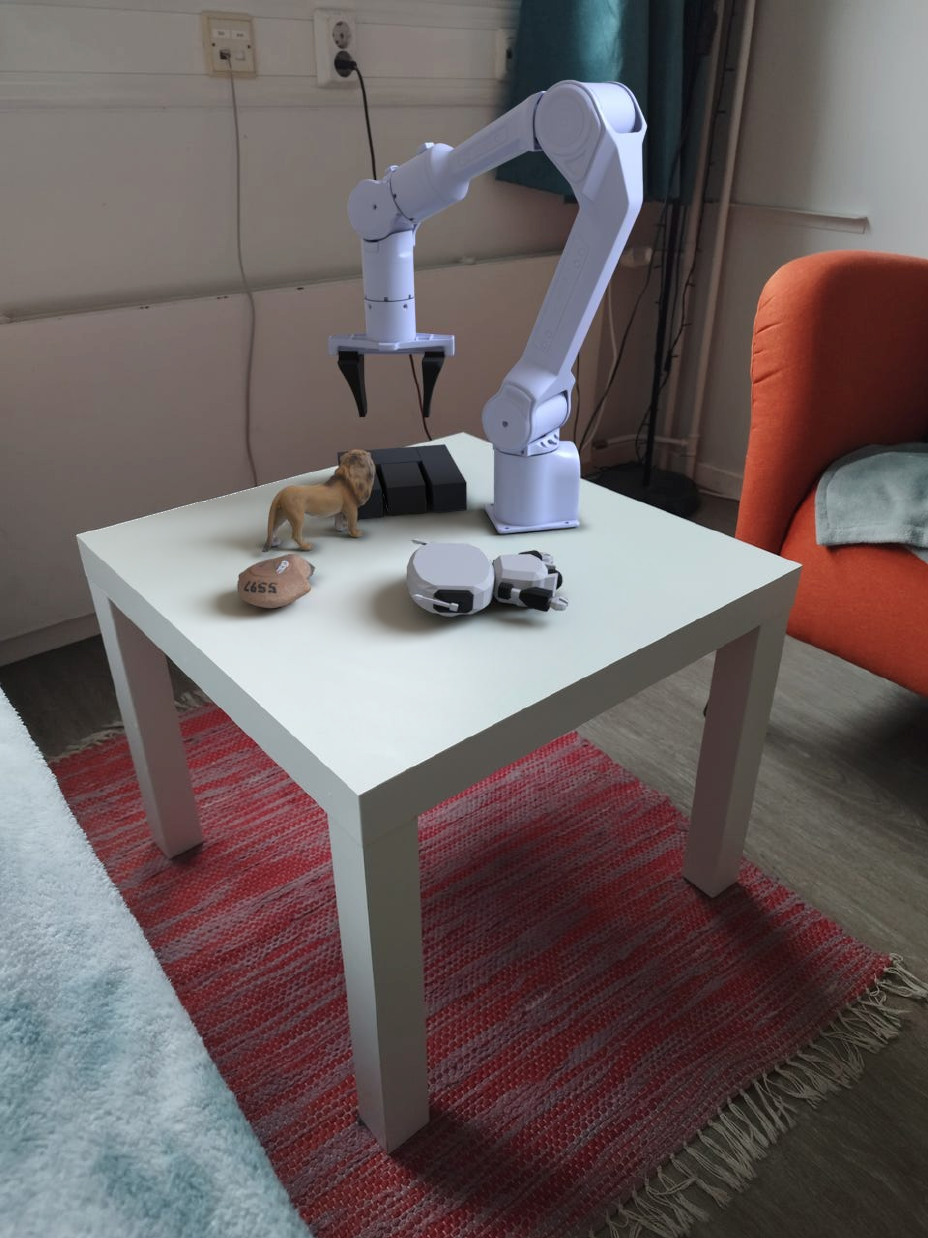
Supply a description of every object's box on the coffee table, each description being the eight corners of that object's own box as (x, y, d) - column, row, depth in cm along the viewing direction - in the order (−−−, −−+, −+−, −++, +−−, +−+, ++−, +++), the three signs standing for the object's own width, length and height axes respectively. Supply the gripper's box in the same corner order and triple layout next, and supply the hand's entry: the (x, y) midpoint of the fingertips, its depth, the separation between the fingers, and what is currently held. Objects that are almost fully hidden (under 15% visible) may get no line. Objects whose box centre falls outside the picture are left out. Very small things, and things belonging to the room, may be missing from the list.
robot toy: (550, 577, 94) (405, 572, 92) (555, 537, 91) (406, 532, 90) (569, 637, 83) (405, 633, 82) (575, 594, 81) (407, 589, 79)
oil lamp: (339, 608, 88) (308, 577, 94) (340, 570, 86) (309, 541, 92) (249, 621, 84) (223, 588, 90) (249, 582, 82) (223, 550, 88)
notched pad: (445, 469, 119) (445, 443, 117) (466, 509, 107) (466, 482, 105) (339, 477, 117) (337, 451, 115) (349, 520, 105) (346, 491, 103)
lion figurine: (362, 514, 106) (357, 440, 102) (389, 528, 103) (385, 452, 98) (251, 549, 98) (240, 471, 94) (276, 566, 95) (266, 485, 90)
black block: (417, 488, 113) (416, 461, 112) (426, 512, 107) (425, 484, 105) (381, 490, 113) (380, 464, 111) (388, 515, 106) (387, 487, 104)
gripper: (319, 303, 99) (329, 424, 106) (451, 303, 98) (452, 425, 105) (330, 292, 105) (339, 407, 112) (454, 292, 104) (456, 407, 111)
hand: (394, 414), depth 109 cm, fingers open, 7 cm apart
